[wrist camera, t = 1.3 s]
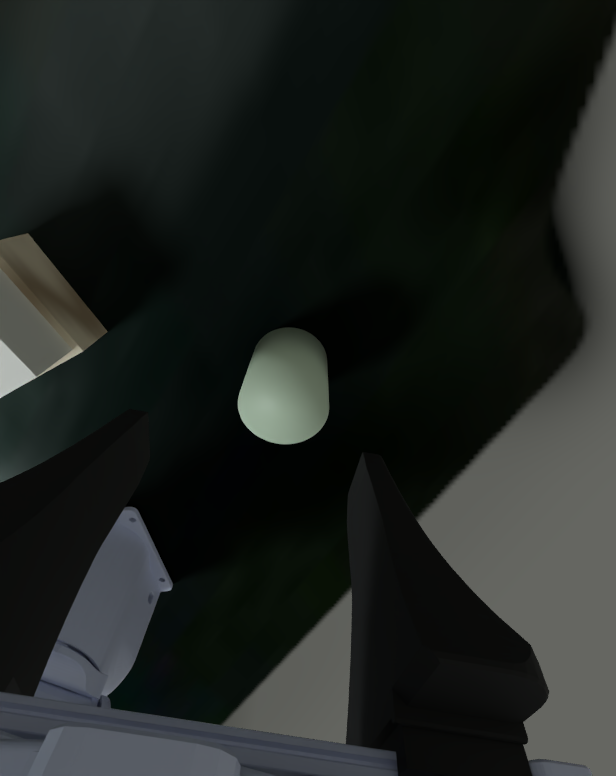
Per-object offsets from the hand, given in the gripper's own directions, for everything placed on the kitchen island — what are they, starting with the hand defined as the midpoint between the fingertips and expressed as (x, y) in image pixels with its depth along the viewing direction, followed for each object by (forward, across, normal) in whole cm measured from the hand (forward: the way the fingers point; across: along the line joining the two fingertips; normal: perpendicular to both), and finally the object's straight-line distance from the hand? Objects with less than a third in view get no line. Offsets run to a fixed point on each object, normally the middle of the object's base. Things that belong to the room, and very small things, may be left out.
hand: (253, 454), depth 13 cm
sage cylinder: (+11, 0, +2) cm, 11 cm away
